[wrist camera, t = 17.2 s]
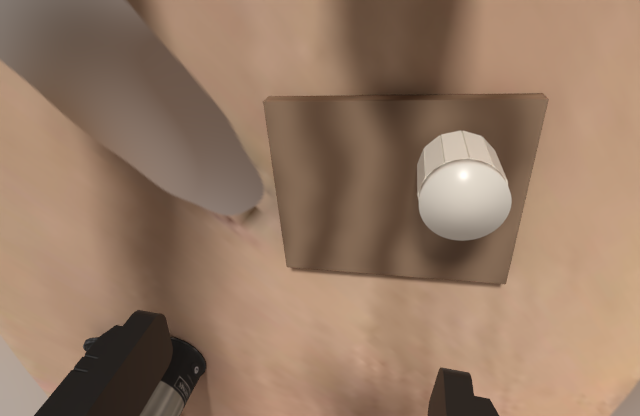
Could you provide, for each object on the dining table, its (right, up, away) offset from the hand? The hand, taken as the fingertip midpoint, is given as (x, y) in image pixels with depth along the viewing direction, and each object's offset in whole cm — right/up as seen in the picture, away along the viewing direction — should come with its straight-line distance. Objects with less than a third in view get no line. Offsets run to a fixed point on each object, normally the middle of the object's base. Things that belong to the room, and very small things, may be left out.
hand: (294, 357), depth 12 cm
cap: (+12, +8, +21) cm, 25 cm away
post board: (+8, +6, +26) cm, 28 cm away
